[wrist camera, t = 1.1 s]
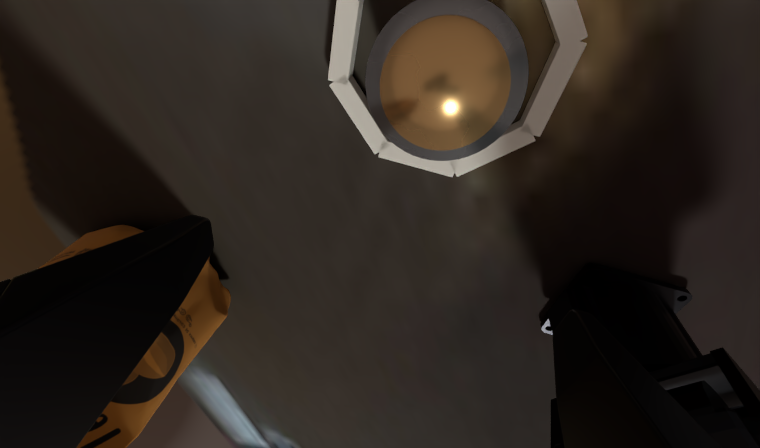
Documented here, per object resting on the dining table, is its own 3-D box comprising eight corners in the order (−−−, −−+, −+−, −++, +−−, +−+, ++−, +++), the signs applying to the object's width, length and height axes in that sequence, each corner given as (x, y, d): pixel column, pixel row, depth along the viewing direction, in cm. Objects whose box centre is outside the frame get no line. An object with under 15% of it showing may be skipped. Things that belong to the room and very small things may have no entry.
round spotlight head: (540, -18, 14) (581, -19, 10) (475, 145, 19) (481, 200, 14) (410, -52, 15) (387, -68, 10) (375, 118, 19) (348, 163, 14)
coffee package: (251, 313, 30) (-66, 791, 13) (142, 303, 33) (-218, 663, 16) (196, 217, 24) (-510, 845, 7) (71, 218, 28) (-588, 632, 11)
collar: (627, -54, 13) (637, -56, 13) (509, 185, 20) (511, 193, 19) (356, -122, 14) (351, -128, 13) (325, 135, 20) (321, 141, 19)
